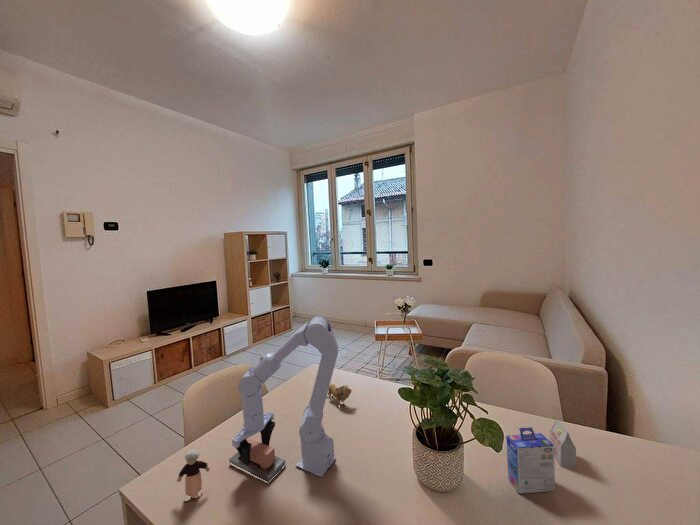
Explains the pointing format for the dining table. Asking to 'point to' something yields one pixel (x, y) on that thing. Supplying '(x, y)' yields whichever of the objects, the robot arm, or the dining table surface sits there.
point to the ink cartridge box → (530, 462)
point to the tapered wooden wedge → (261, 454)
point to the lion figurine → (339, 392)
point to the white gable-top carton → (563, 446)
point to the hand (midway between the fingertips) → (256, 454)
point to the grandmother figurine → (192, 473)
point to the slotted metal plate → (255, 467)
